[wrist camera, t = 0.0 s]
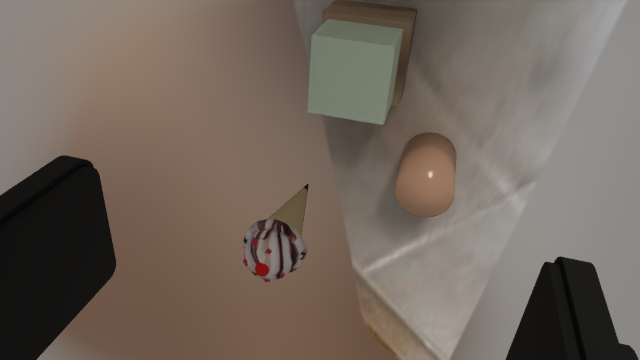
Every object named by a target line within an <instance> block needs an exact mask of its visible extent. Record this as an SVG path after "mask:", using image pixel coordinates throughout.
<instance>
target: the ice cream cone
mask: <svg viewBox="0 0 640 360" xmlns="http://www.w3.org/2000/svg"><path fill="white" fill-rule="evenodd" d="M307 192H308V184H307V185H306V186H305V187H304V188H303V189H302V190H300V191H299V192H298V193H297V194H296V195H294V196H293V197H292V198H291V199H290V200H289V201H288V202H286V203H285V204H284V205H283V206H282V207H281V208H280V209H278V210H277V211H276V212H275V213H274V214H273V215H272V216H270V217H269V218H268V219H266V220H261V221H258V222H256V223H254V224H253V225H252V226H251V227H250V228H249V230H248V231H247V233H246V235H245V237H244V248H245V252H244V257H245V259H244V261H243V262H244V263H245V265H246V266H248V268H249V270H250V271H251V272H252V273H253V274H254V275H256V276H257V277H259V278H261V279H264V280H265V282H269V281H270V280H276V279H279V278H283V277H284V276H285V275H286V274H287V273H289V272H292V271H294V270H296V269H297V268H298V267H299V266H300V265H301V264H302V262H303V260H304V258H305V256H306V253H307V247H306V245H305V243H304V241H303V240H302V238H301V235H302V227H303V220H304V213H305V206H306V199H307Z"/></svg>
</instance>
